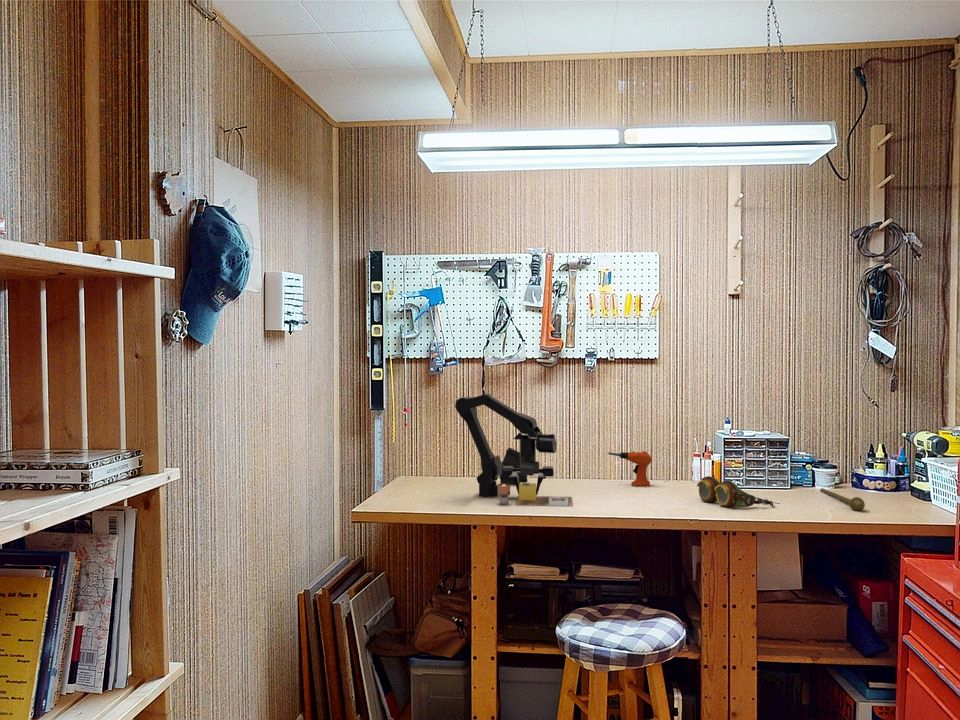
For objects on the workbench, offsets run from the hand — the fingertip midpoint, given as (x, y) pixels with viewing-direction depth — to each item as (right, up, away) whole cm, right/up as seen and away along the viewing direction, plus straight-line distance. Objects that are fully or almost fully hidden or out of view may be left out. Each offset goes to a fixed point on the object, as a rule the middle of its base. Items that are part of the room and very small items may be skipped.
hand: (527, 494), depth 255 cm
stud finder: (0, -1, 0) cm, 1 cm away
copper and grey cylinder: (-9, -3, -9) cm, 13 cm away
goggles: (+74, -3, -4) cm, 75 cm away
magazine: (-3, -2, +32) cm, 32 cm away
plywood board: (+5, -3, -5) cm, 8 cm away
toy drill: (+43, -2, +29) cm, 52 cm away
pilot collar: (+10, -1, -10) cm, 14 cm away
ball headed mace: (+113, -3, -2) cm, 113 cm away
